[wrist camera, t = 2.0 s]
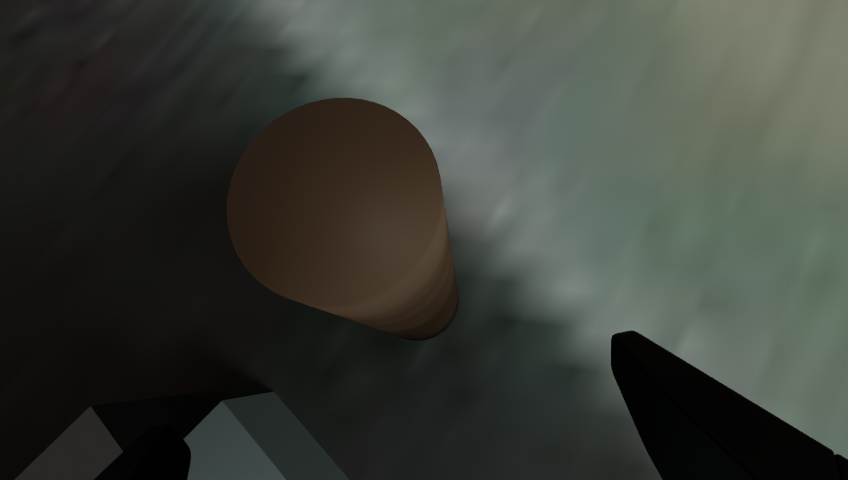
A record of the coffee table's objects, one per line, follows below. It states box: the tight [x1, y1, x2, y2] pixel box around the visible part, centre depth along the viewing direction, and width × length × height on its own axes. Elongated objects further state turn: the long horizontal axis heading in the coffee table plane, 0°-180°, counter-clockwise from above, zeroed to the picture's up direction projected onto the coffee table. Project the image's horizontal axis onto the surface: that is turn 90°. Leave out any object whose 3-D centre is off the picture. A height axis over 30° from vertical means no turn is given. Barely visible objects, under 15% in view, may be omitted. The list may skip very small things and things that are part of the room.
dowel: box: [226, 98, 458, 341], centre depth 14 cm, size 4×4×13 cm
